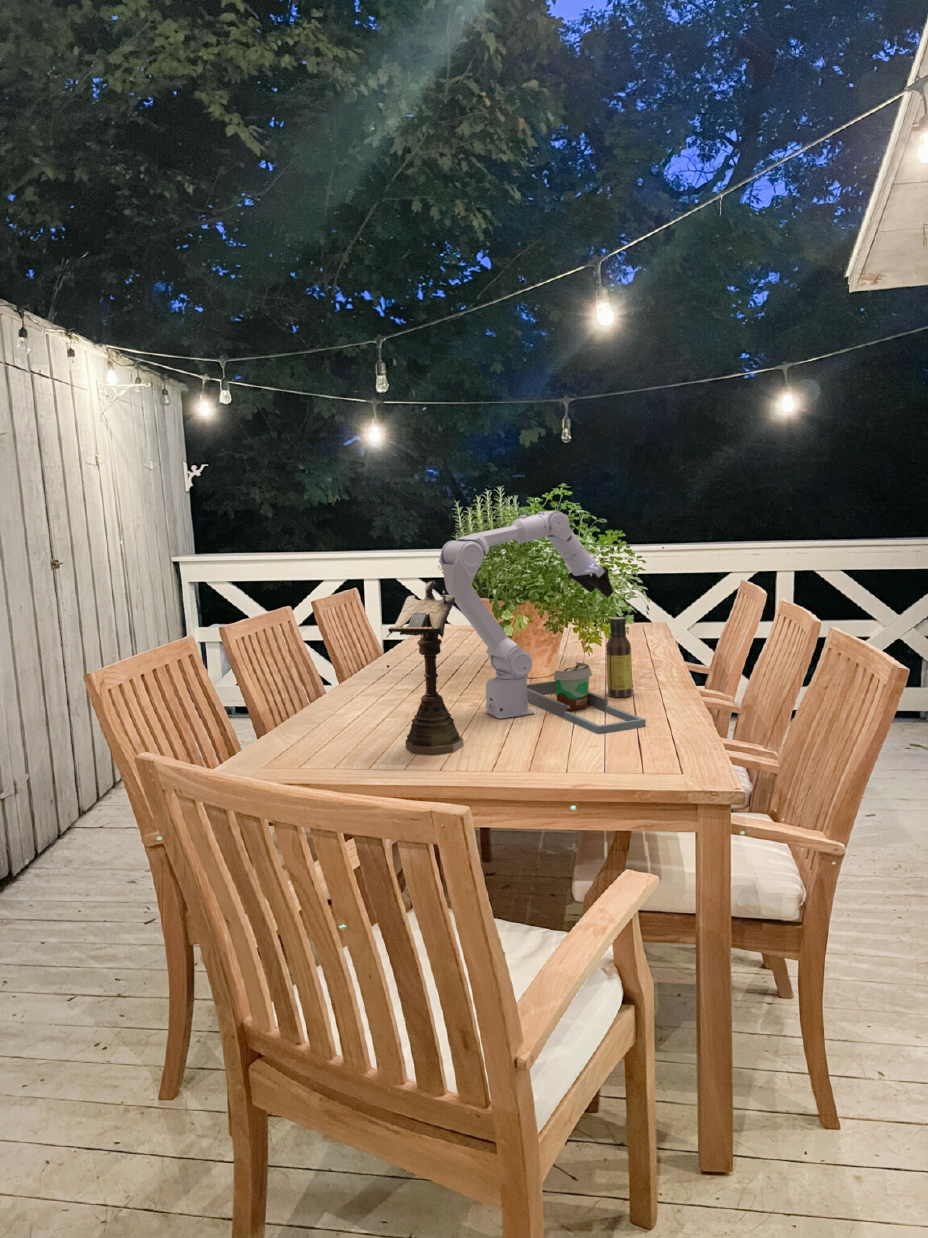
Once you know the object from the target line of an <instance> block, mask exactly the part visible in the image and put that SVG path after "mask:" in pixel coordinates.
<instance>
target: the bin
mask: <svg viewBox="0 0 928 1238" xmlns="http://www.w3.org/2000/svg"><path fill="white" fill-rule="evenodd" d="M550 694H556V681H555V680H551V681H549V680H548V681H541V682H533V683H527V698H528V703H530V704H532V705H534V706H536V707H539V708H540V709H542V710H544V711H547V712H549V713H552V714H553V715H555V716H558V717H561V718H563V719H564V712H567V711H566V704H564V703H561V702H559V701H557V699H554V698H552V697H549V696H547V695H550ZM608 701H609V700H608V698H607V697H604V696H602V695H599V694H596V693H594V692H590V690H588V704H587V706H590V707H592V708H595V709H597V710H598V711H599V710H600V711H601V712H605V706H607V705H609V704H608ZM605 713H606V712H605Z"/></svg>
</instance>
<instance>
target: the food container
mask: <svg viewBox="0 0 928 1238" xmlns="http://www.w3.org/2000/svg"><path fill="white" fill-rule="evenodd" d="M592 675H593V673H592V670H591V667H590V665H589V664H587V663H583V662H577V661H576V664H575V666H573V667H567V668H565V669H563V670H554V675H553V677H554V678H553V681H556V693H555V694H556V700H557V701H559V702H561V703H564V704H566V711H568V712H570V713H572V712H580V711H584V710H587V709H588V705H587V704H588V691H589V684H590V683H589V682H590V677H591V676H592Z"/></svg>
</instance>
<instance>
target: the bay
mask: <svg viewBox="0 0 928 1238" xmlns="http://www.w3.org/2000/svg"><path fill="white" fill-rule="evenodd" d="M605 713H607V714H609V715H611V716H614V717H616V718H619V719H621V720H624V721H618V722H613V723H607V724H597V723H595V722H593V721H591V720H588V719H586V718H584V717H581V716H579V715H576V714H574V713H572V712H568V711H567V712H564V718H563V719H565V720H566V721H569V722H571V723H573V724H576V725H578V726H580V727H581V728H584V729H587V730H589V731H591V732H592V733H595V734H597V735H599V734H600V735H601V734H607V733H611V732H612V733H613V732H619V731H625V730H626V731H627V730H632V729H636V728H637V729H638V728H644V727H647V726H646V723H647V721H646V719H645V718H642V717H640V716H639V715H638V716H637V715H635V714H632V713H630V712H626V711H625V710H622V709H620V708H616V707H615V706H612V705H609V704H608V705H607V706H605Z"/></svg>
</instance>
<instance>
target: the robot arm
mask: <svg viewBox="0 0 928 1238" xmlns="http://www.w3.org/2000/svg"><path fill="white" fill-rule="evenodd" d="M544 538H547V539H548V541H549V542H550V543H551V545H552V546H553V547H554V549H555V550H556V552H557V553H558V555H560V557H561V559H562V560H563V561H564V564H563V565H564V566H565V567H566V568H567V570H568V571H570V573H568V575H567V577H568V578H569V579H570V580H573V581H575V582H576V583H578V584H579V585H581V586H582V588H583V589H585V590H586V591H587V592H589V593H591V594H592V592H594V591H595V590H596V589H597V590H598V591H599V592H600V593H601V594H602V595H603V596H604V597H606V598H609V597H610V596H611V595H612V594H613V593H614V590H613V587H612V584H611V581H610V577H609V568H608V567H607V566H601V565H599V564H598V563H597V562H596V560H595V559H596V557H597V556H596V554H595V553H594V554H593V553H590V554H589V553H588V550H587V549H586V548H585V547H584V545H583V544H582V543H581V541H580V540H579V539H578V537H577V536H576V535H575V533H574V531H573V530H572V528H571V526H570V519H569V516H568V515H567V514H564V513H563V512H562V511H559V510H558V511H557V510H555V511H553V510H552V511H551V510H550V511H548V510H546V511H538V512H537V514H533V515H529V516H528V515H527V514H521V515H519V518H517V519H515V520H514V521H513V522H512V524H511V525H510V526H504V527H500V528H494V529H489V530H484V531H479V532H475V533H471V534H466V535H463V536H460V537H459V538H457V540H454V539H453V540H449V541H447V542H445V544H444V545H443V546H442V548H441V551H440V555H439V560H438V563H439V564H440V566H441V567H442V573H443V580H444V585H445V589H446V591H447V593H448V595H451V596H454V597H455V601H454V604H456V606H457V607H458V608H459V610H460V611H461V612H462V614H463V616H464V617H465V618H466V620H467V621H468V622H469V624H470V625H471V626H472V628H473V629H474V630H475V633H476V634H478V636H479V637H480V639H481V641H482V642H483V643H484V644H485V645H486V646H487V647H486V648H487V649H486V654H487V655H488V657H489V660H490V664H491V667H492V668H493V669H494V670H495V675H496V676H495V677H494V678H490V679H488V680H487V681H486V684H485V701H486V704H485V705H486V709H485V713H487V714H489V715H491V716H493V717H494V718H497V719H507V718H514V717H522V716H527V715H529V716H530V715H534V714H535V713H536V712H535V711H534V710H532V709H530V708H529V705H528V703H529V702H528V698H527V684H528V676H529V675H528V674H529V673H530V671H531V670H532V668H533V658H532V655H530V653H529V652H527V651H526V650H524V649H522V648H521V647H520V645H518V644H517V642H515V641H514V640H512V639H511V638H510V637H508V635H507V633H505V631H504V629H503V627H501V625H500V624H499V622H498V621H497V619H496V618H495V617H494V616H493V614H492V613H491V611H490V610H489V609H488V607H487V605H486V604H485V603H484V601H483V600H482V598H481V597H480V595H479V594H478V593H477V591H476V590H475V589H474V587H473V581H474V578H475V577H476V574H478V571H479V569H480V567H481V565H482V563H483V560H484V555H485V556H486V555H488V553H489V550H490V547H493V546H495V545H496V546H497V545H500V544H503V543H508V542H510V541H513V540H514V541H516V542H518V543H520V544H524V543H528V542H532V541H536V540H539V539H544Z"/></svg>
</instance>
